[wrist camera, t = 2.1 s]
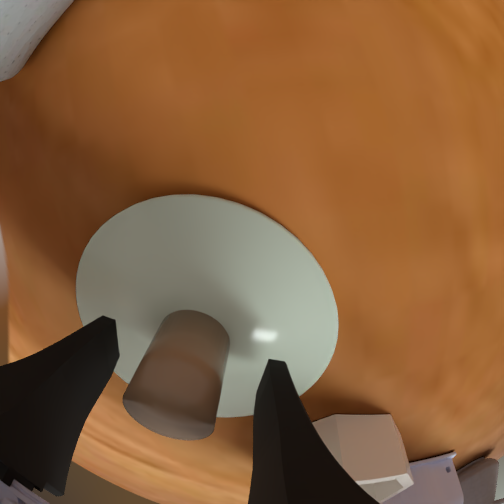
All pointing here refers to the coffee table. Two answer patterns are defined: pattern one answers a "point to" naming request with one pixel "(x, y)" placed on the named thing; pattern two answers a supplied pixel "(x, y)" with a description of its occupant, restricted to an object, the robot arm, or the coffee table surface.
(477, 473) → the coffee pot
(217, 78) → the coffee table surface
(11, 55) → the ceramic mug
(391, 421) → the bowl
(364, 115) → the coffee table surface
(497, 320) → the coffee table surface
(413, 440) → the coffee table surface
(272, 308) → the lid
